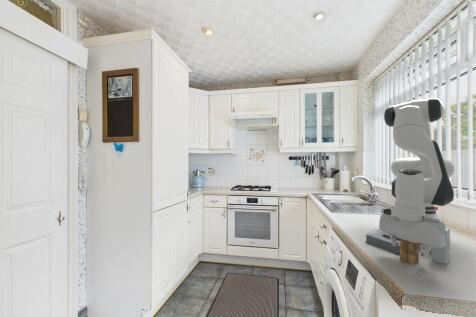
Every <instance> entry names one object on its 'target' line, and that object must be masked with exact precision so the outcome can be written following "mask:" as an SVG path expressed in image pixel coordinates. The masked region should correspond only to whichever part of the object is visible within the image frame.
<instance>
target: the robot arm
mask: <svg viewBox="0 0 476 317" xmlns="http://www.w3.org/2000/svg"><path fill="white" fill-rule="evenodd" d="M444 112H445V106H444V103H443V102H442V101H441V99H439V98H436V97H435V98H434V97H431V98H429V97H428V98H427V99H418V100H412V101H411V100H410V101H407V102H403V103H400V104H396V105H394V104H393V105H390V106H388V107H387V108H386V109H385V110H384V112H383V113H384V114H383V120H384V123H385V125H386V126H387V127H392V128H393V129H392V137H393V138H392V139H393V142H394V144H395V145H396V146H397V147H398V148H399V149H401V150H403V151H406V152H408V153H410V154H413V155H415V156H417V157H403V158H395V159H394V160H393V161H392V162H391V165H390V170H391V172H392V174H393V176H395V179H394V180H392V181H391V182H390V183H391V194H390V195H391V196H393V198H395V201H394V206H389V207H385V208H384V207H383V208H381V209H380V213H381V215H380V216H379V221H378V222H379V223H378V226H379V230H380V232H385V233H389V237H390V239H391V241H392V246H394V247H399V245H398V244H399V242H397V241H396V239H395V237H396V236H399V237H402V238H405V239H408V240H412V241H415V242H418V243H420V244H422V245H423V247H424V249H423V250H419V251H420V252H419V253H420V254H419V257H423V258H428V257H429V252H430V251H432V247H435V248H443V247H445V246H446V238H445V227H446V224H445V223H444V221H443V219H442V218H440V216H438V215H437V211H438V210H439V207H445V206H446V205H448V204H451V203H452V202H453V201H454V200H455V189H454V187H453V185H452V183H451V180H450V178H451V177H452V176H453V174H454V173H455V165H454V164H453V161H451V160H450V159H448V158H446V157H444V156H443V155H442V151H441V150H440V146H439V144H438V142H437V141H436V140H435V139H432V131H431V125H430V123H434V122H436V121H439V120H440V119H441V118H442V117H443V114H444ZM438 206H439V207H438Z"/></svg>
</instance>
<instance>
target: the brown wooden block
mask: <svg viewBox="0 0 476 317" xmlns="http://www.w3.org/2000/svg"><path fill="white" fill-rule="evenodd" d="M419 251H420V249H419V243H418V242H415V241H412V240H408V239H405V240H400V254H399V260H400V261H402V262H403V263H404V264H405V263H409V264H411V265H413V264H417V263H420V262H419V257H420V254H419V253H420V252H419Z"/></svg>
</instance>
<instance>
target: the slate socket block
mask: <svg viewBox="0 0 476 317" xmlns="http://www.w3.org/2000/svg"><path fill="white" fill-rule="evenodd" d="M365 238H366V239H365V241H366V243H369V244H371V245H374V246H377V247H379V248H382V249H385V250H388V251H390V252H393V253H395V252H396V253H395V254H399V255H400V240H405V238H402V237H399V236H396V237H395V239H396V241H397V242H399V244H398V245H399V247H394V246H392V241H391V239H390V237H389V233H385V232H382V231H379V232H374V233H369V234H366V236H365ZM419 250H421V243H419Z"/></svg>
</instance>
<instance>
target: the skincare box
mask: <svg viewBox="0 0 476 317" xmlns="http://www.w3.org/2000/svg"><path fill="white" fill-rule="evenodd" d="M450 233H451V228H450V227H446V226H445V238H446V246H445V247H443V248H435V247H432V249H431V260H432V261H434V262H437V263H441V264H445V265H447V264H448V263H449V261H450V260H451V255H450V254H451V249H450V248H451V246H450V245H451V237H450V236H451V234H450Z"/></svg>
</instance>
